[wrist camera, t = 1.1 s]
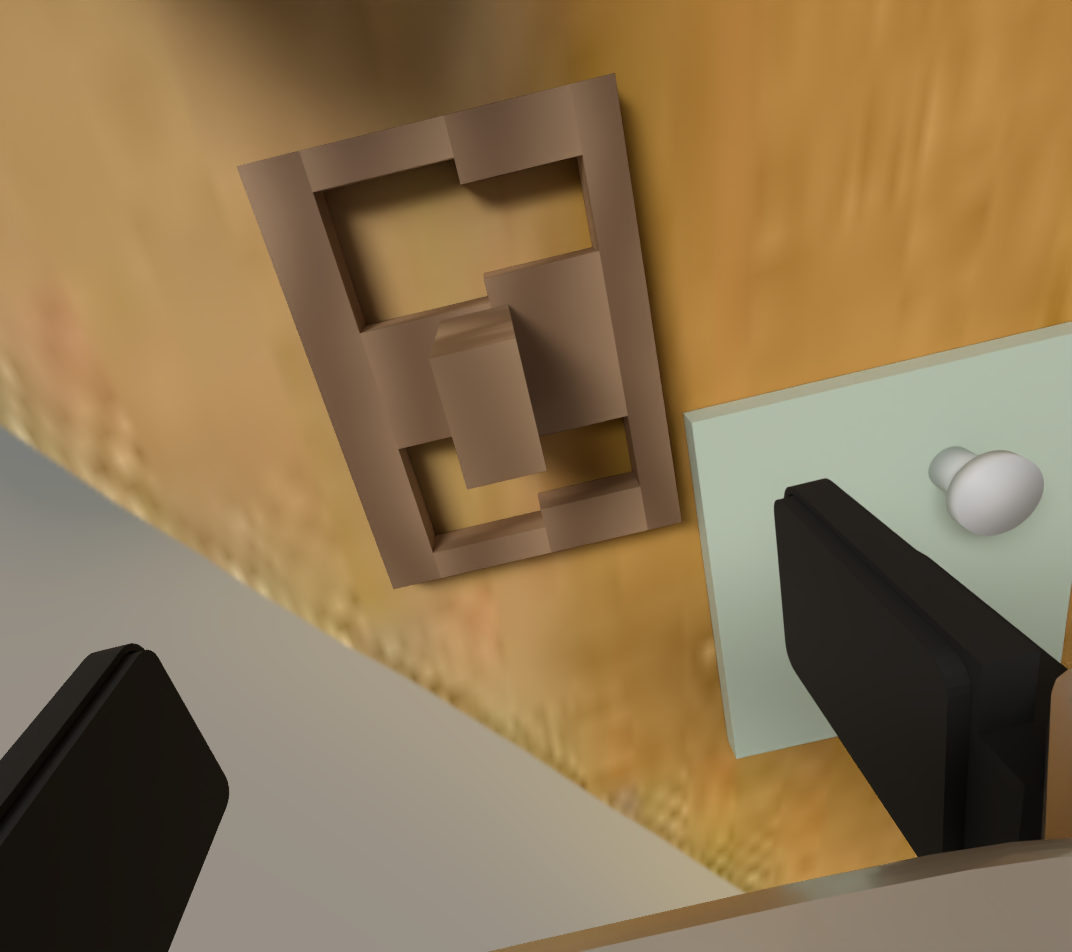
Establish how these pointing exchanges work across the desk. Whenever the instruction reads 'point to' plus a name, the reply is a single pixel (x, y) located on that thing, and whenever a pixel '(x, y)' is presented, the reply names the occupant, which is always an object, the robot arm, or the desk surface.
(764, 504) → the board
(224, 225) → the desk surface
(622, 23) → the desk surface
